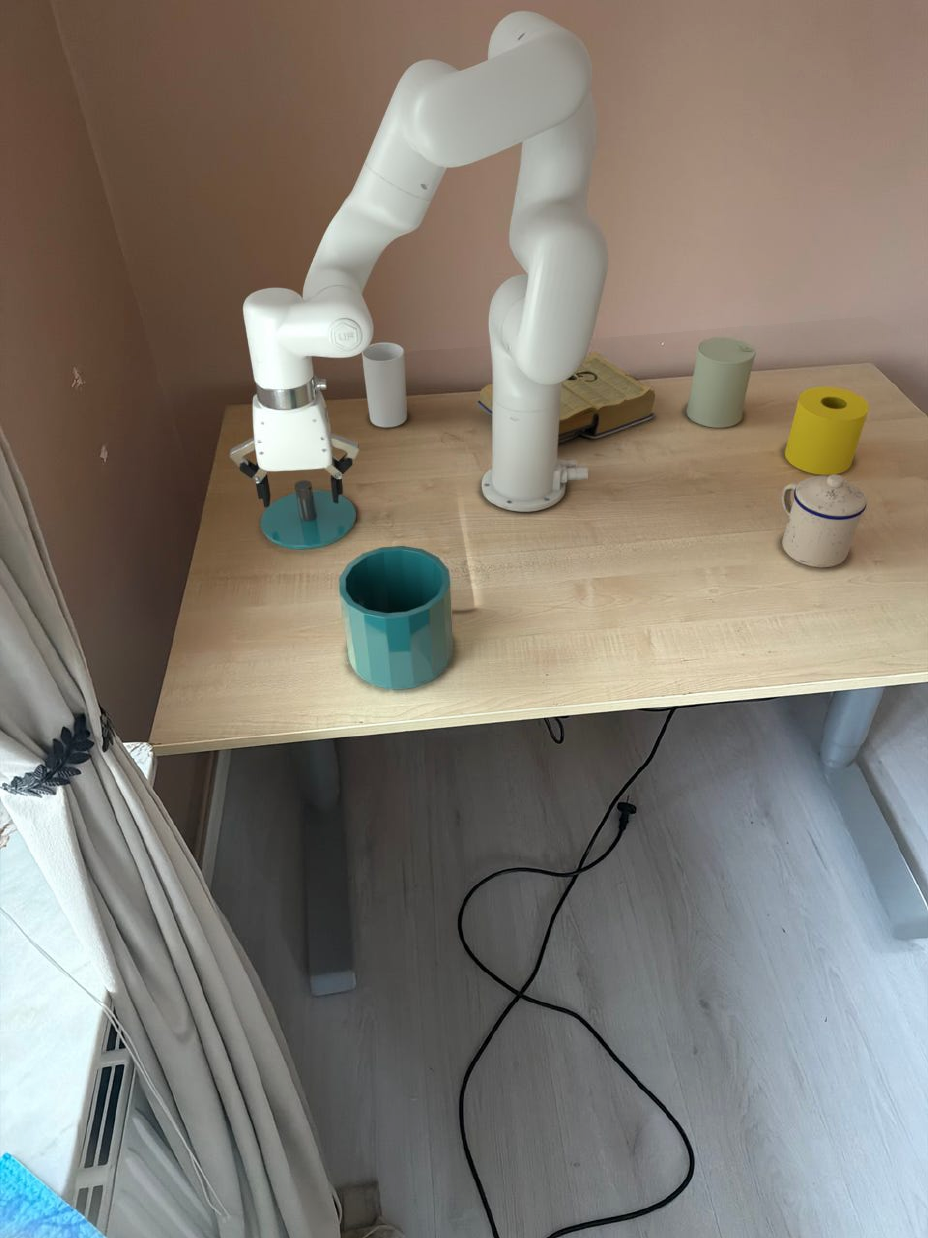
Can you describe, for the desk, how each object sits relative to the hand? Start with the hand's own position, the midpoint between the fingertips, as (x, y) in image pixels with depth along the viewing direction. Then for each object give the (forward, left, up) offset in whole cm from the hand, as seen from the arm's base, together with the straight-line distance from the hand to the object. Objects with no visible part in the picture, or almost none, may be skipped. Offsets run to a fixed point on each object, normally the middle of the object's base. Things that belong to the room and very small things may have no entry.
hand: (301, 499), depth 127 cm
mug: (-13, -30, -5) cm, 33 cm away
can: (-68, -23, -5) cm, 72 cm away
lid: (-1, 0, -4) cm, 4 cm away
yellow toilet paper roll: (-80, -8, -5) cm, 80 cm away
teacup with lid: (-70, +13, -5) cm, 71 cm away
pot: (-13, +28, -4) cm, 31 cm away
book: (-43, -25, -5) cm, 50 cm away
